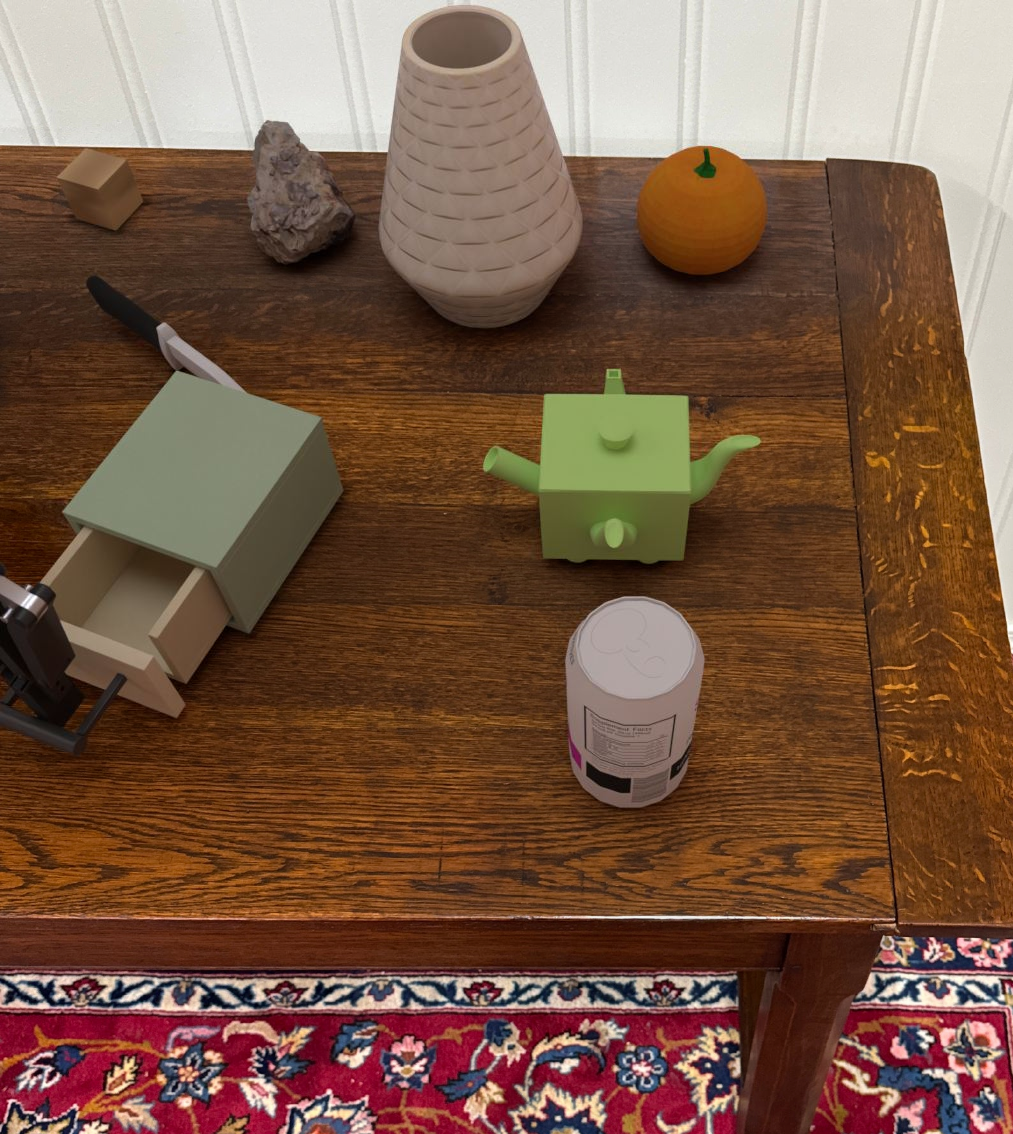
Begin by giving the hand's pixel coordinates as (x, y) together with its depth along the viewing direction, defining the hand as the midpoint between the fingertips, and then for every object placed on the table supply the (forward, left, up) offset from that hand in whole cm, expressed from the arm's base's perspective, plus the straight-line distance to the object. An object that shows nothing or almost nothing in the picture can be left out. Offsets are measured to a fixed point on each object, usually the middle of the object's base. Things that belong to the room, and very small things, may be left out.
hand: (64, 709), depth 77 cm
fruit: (+23, +64, -4) cm, 68 cm away
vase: (+7, +52, -4) cm, 53 cm away
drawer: (0, +7, -3) cm, 8 cm away
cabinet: (0, +19, -4) cm, 19 cm away
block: (-31, +48, -4) cm, 57 cm away
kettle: (+28, +31, -4) cm, 42 cm away
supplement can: (+36, +13, -4) cm, 38 cm away
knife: (-11, +32, -4) cm, 34 cm away
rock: (-12, +51, -4) cm, 52 cm away
